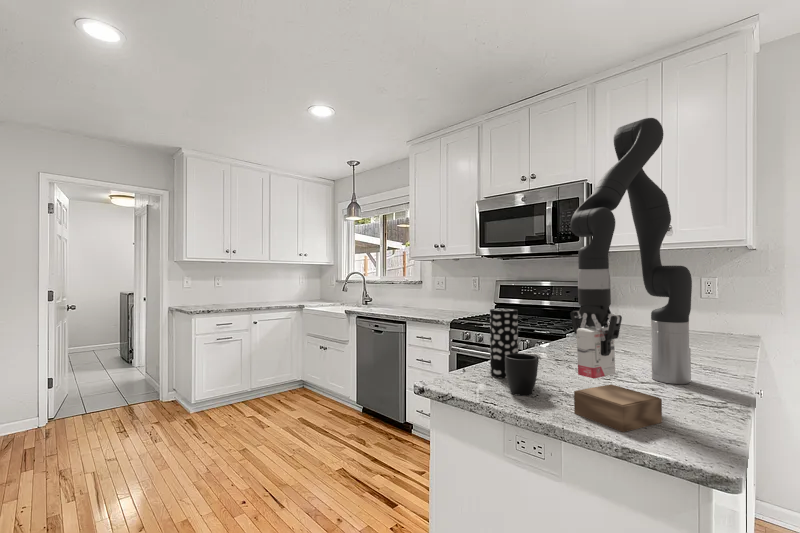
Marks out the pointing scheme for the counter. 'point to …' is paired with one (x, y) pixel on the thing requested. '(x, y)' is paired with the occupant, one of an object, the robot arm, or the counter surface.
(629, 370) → the counter surface
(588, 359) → the ink box
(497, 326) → the white-spotted black cylinder
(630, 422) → the brown flat block
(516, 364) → the mug
